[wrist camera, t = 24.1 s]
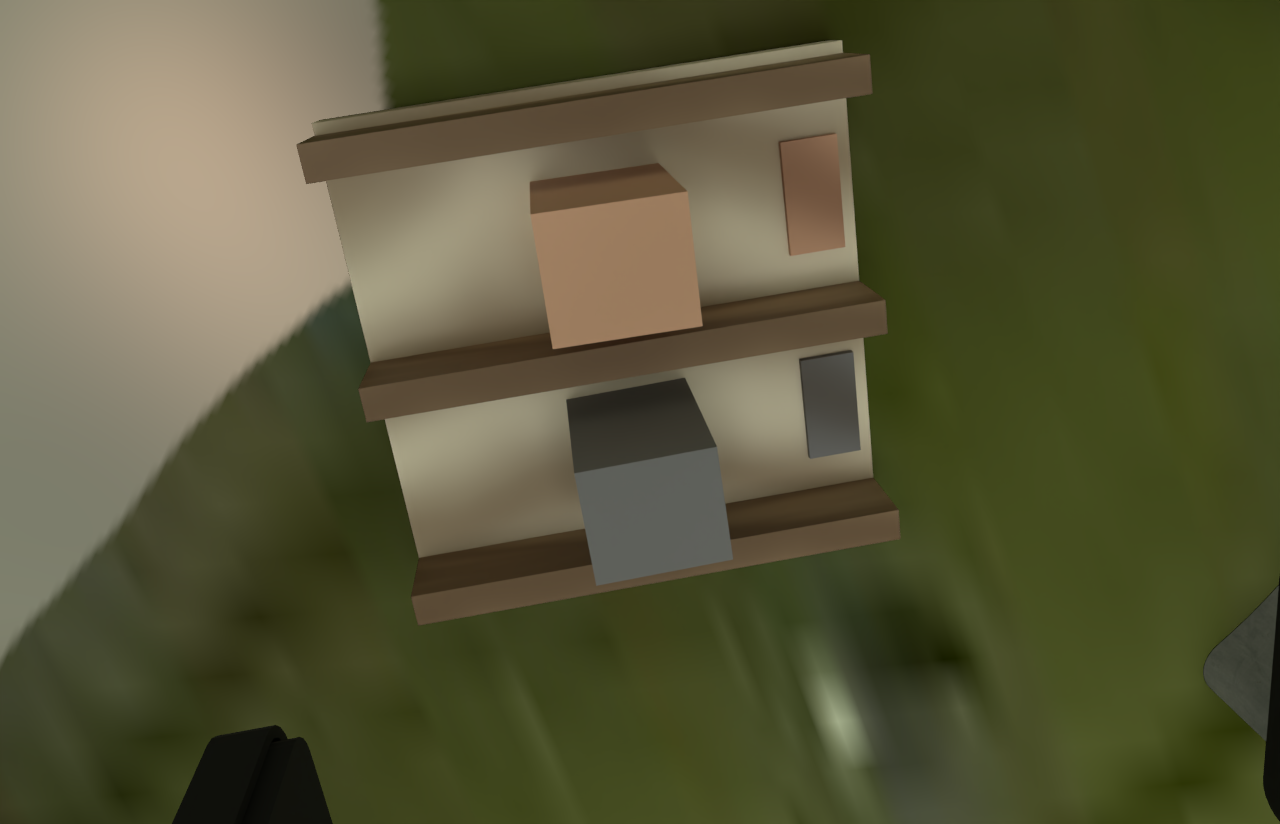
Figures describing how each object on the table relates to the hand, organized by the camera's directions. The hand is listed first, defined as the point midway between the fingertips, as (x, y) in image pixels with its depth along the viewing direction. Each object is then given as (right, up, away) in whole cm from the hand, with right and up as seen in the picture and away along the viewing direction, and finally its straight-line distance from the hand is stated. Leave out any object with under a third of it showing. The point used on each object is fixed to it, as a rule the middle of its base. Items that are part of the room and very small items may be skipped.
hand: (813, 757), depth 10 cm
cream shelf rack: (-3, +7, +30) cm, 31 cm away
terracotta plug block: (-3, +10, +27) cm, 29 cm away
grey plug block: (-2, +2, +30) cm, 30 cm away
